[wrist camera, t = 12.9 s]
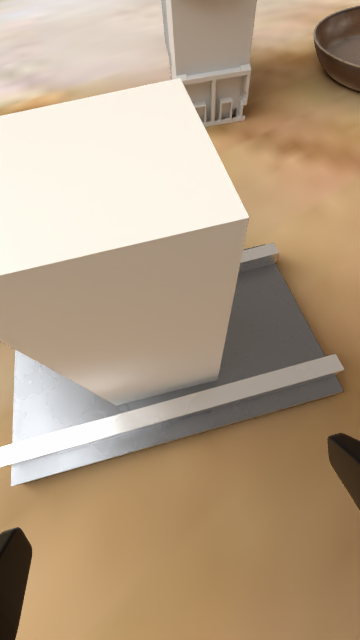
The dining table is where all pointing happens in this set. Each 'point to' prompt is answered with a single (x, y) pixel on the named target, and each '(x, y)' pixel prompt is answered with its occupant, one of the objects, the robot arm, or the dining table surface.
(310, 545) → the dining table surface
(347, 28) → the plant saucer
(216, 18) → the circuit breaker
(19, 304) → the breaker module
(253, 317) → the rail plate
